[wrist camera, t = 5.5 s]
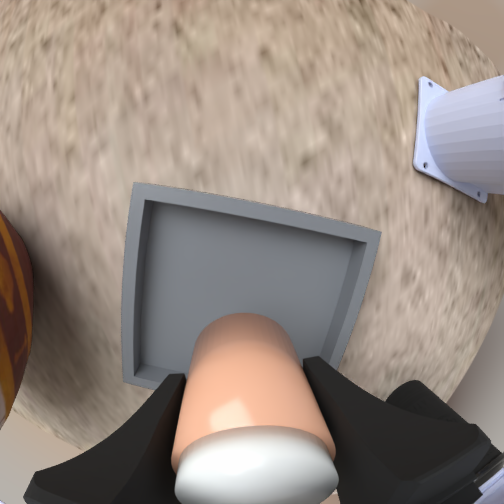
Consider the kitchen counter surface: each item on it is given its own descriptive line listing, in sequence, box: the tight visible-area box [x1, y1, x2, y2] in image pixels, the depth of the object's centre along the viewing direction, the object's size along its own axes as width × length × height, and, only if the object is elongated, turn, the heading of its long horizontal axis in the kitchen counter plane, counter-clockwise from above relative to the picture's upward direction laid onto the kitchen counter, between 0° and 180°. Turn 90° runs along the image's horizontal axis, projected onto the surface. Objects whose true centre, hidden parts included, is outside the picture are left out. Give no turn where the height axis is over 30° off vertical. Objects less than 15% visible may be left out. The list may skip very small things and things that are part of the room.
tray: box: [121, 182, 382, 390], centre depth 16 cm, size 14×13×2 cm
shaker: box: [171, 313, 339, 504], centre depth 8 cm, size 4×4×7 cm
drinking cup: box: [386, 380, 504, 488], centre depth 12 cm, size 8×8×20 cm
